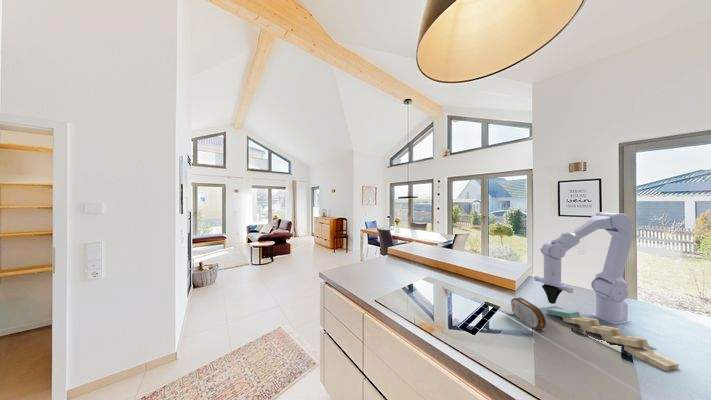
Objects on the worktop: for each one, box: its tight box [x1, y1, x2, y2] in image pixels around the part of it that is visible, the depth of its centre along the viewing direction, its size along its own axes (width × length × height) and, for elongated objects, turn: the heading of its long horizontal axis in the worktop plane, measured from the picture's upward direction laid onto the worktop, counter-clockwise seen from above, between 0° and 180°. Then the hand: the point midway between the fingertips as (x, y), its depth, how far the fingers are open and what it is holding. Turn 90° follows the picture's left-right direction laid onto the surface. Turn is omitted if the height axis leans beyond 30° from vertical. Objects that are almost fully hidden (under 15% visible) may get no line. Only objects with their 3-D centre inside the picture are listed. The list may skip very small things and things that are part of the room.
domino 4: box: [601, 334, 650, 348], centre depth 76 cm, size 5×2×9 cm
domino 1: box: [547, 308, 581, 318], centre depth 94 cm, size 5×2×9 cm
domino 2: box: [562, 316, 601, 327], centre depth 88 cm, size 5×2×9 cm
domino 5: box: [624, 345, 680, 372], centre depth 71 cm, size 5×2×9 cm
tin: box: [510, 296, 547, 330], centre depth 92 cm, size 15×3×8 cm, turn 2°
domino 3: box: [580, 324, 623, 337], centre depth 83 cm, size 5×2×9 cm
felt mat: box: [538, 305, 658, 356], centre depth 89 cm, size 14×31×1 cm, turn 13°
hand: (552, 302), depth 99 cm, fingers closed
